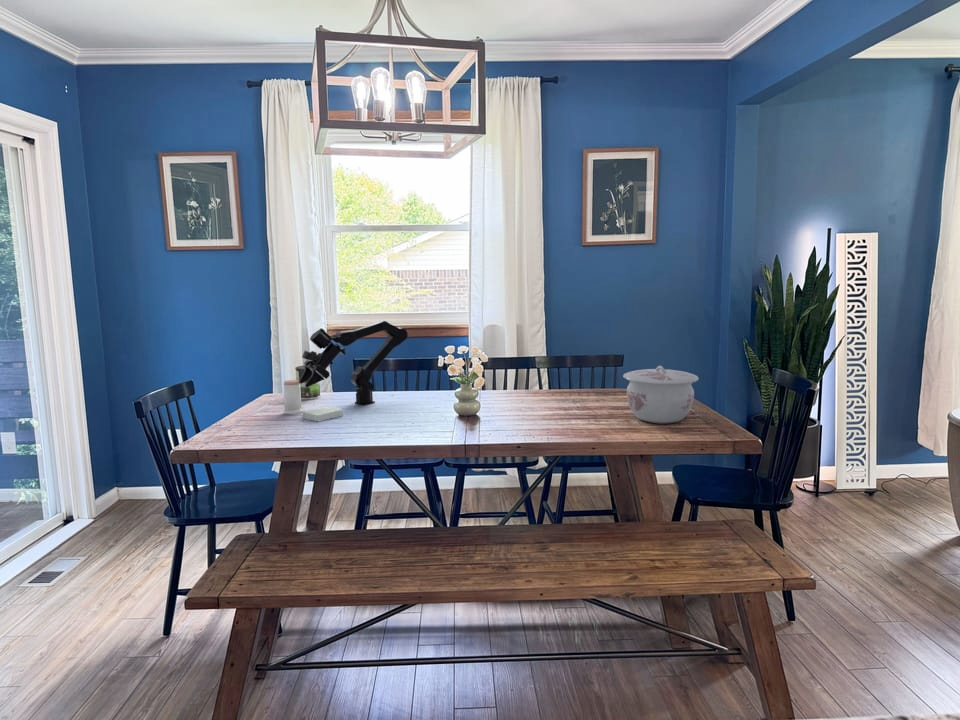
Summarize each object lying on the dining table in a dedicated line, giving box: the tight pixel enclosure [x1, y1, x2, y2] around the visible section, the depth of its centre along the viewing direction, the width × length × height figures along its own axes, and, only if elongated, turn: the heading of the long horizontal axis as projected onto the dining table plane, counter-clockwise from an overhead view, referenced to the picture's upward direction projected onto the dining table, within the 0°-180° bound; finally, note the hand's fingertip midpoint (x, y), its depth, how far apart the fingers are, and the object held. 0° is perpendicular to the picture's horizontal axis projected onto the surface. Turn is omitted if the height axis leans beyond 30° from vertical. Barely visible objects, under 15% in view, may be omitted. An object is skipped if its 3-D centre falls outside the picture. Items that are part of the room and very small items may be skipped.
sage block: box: [301, 405, 344, 422], centre depth 252 cm, size 12×10×2 cm
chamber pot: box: [622, 365, 699, 425], centre depth 239 cm, size 28×28×21 cm
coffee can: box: [294, 364, 321, 401], centre depth 288 cm, size 10×10×14 cm
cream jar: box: [282, 379, 304, 415], centre depth 259 cm, size 7×7×13 cm
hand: (302, 384), depth 261 cm, fingers open, 9 cm apart
